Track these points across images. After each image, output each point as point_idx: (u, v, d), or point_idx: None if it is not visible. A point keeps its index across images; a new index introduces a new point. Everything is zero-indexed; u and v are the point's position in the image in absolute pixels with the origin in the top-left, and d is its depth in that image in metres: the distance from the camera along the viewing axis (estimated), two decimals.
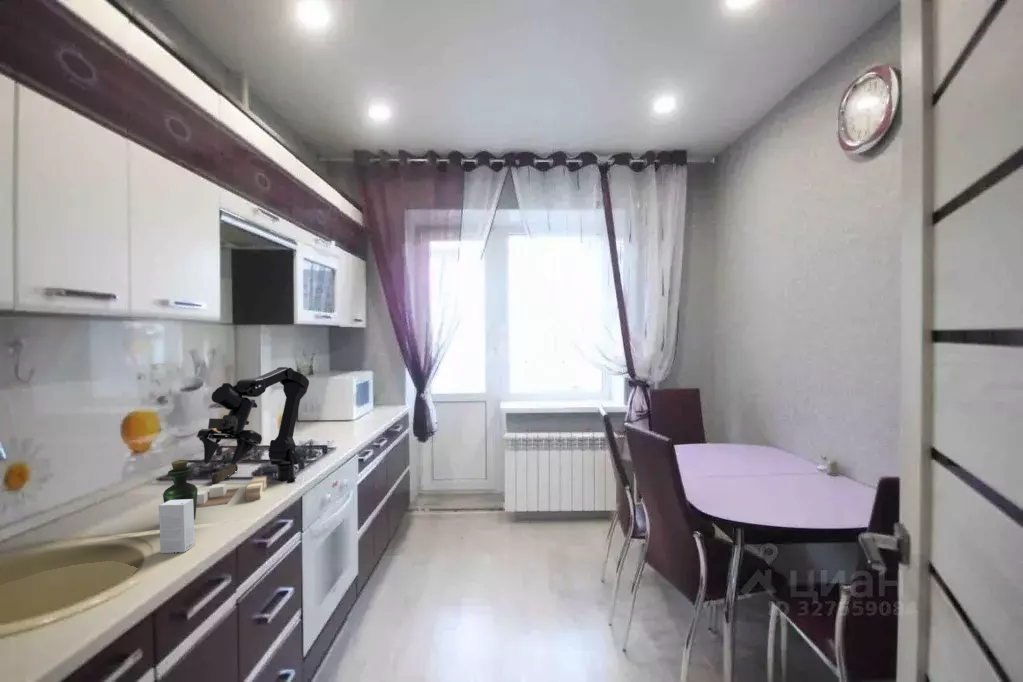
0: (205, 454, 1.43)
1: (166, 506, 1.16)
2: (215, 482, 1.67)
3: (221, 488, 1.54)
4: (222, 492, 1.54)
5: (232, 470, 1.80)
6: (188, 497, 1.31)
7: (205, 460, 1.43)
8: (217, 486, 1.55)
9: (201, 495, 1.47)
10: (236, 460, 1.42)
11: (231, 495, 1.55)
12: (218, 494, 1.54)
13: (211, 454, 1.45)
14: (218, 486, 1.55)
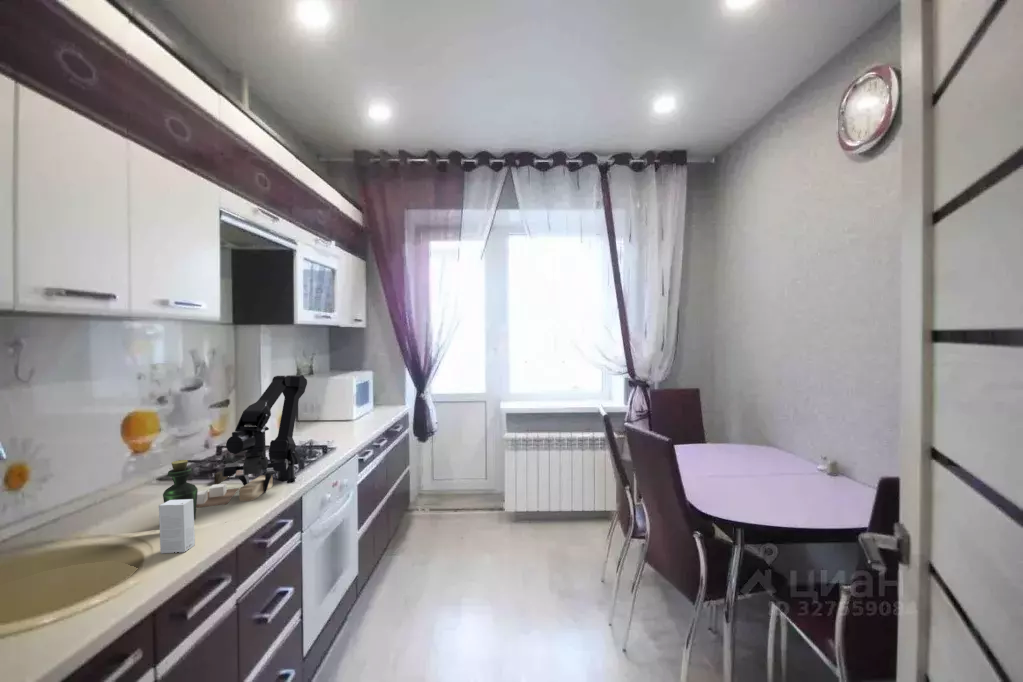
0: None
1: (166, 506, 1.16)
2: (217, 481, 1.67)
3: (221, 488, 1.54)
4: (222, 492, 1.54)
5: None
6: (188, 497, 1.31)
7: None
8: (217, 486, 1.55)
9: (201, 495, 1.47)
10: (267, 487, 1.58)
11: (231, 495, 1.55)
12: (218, 494, 1.54)
13: None
14: (218, 486, 1.55)
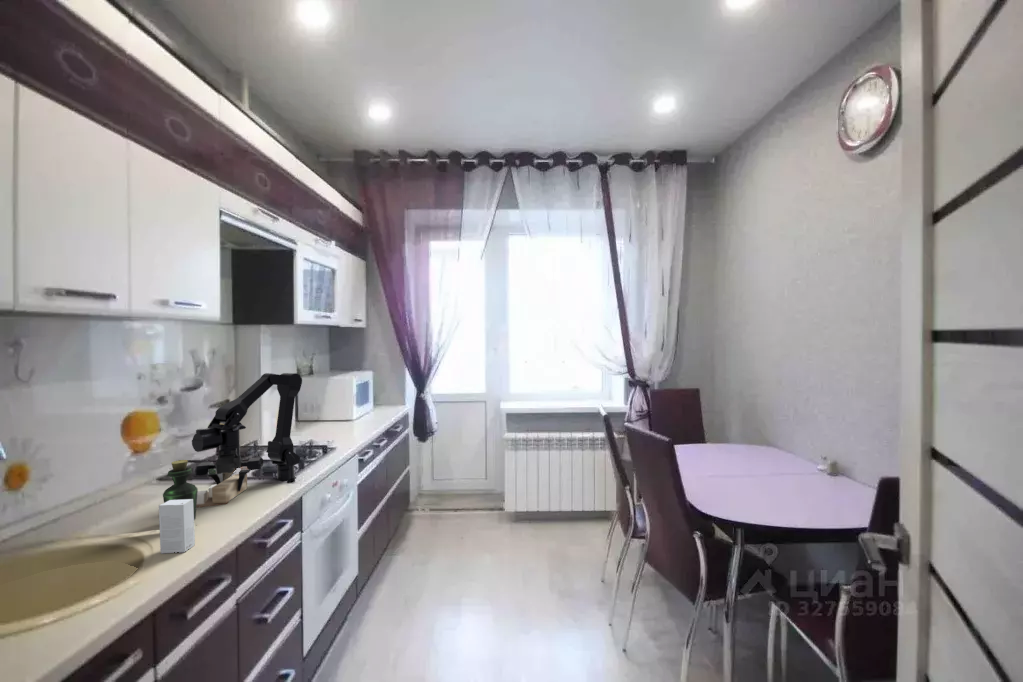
0: None
1: (166, 506, 1.16)
2: None
3: None
4: None
5: None
6: (188, 497, 1.31)
7: None
8: None
9: (201, 495, 1.47)
10: None
11: None
12: None
13: None
14: None
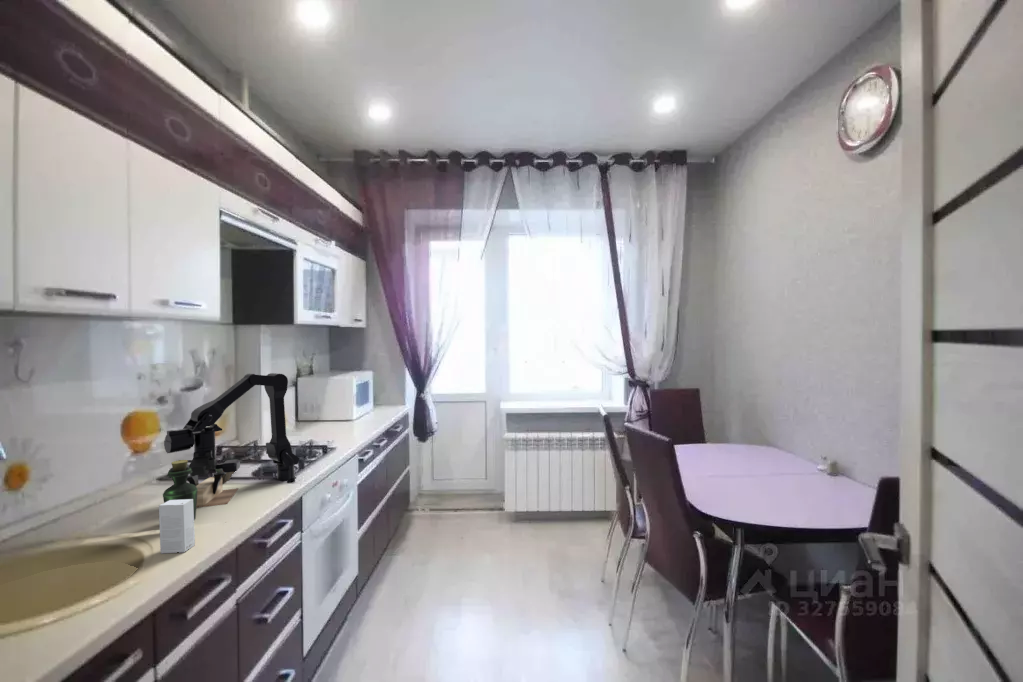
0: None
1: (166, 506, 1.16)
2: (224, 481, 1.68)
3: None
4: None
5: None
6: (188, 497, 1.31)
7: None
8: None
9: None
10: (216, 489, 1.53)
11: (231, 495, 1.55)
12: None
13: None
14: None
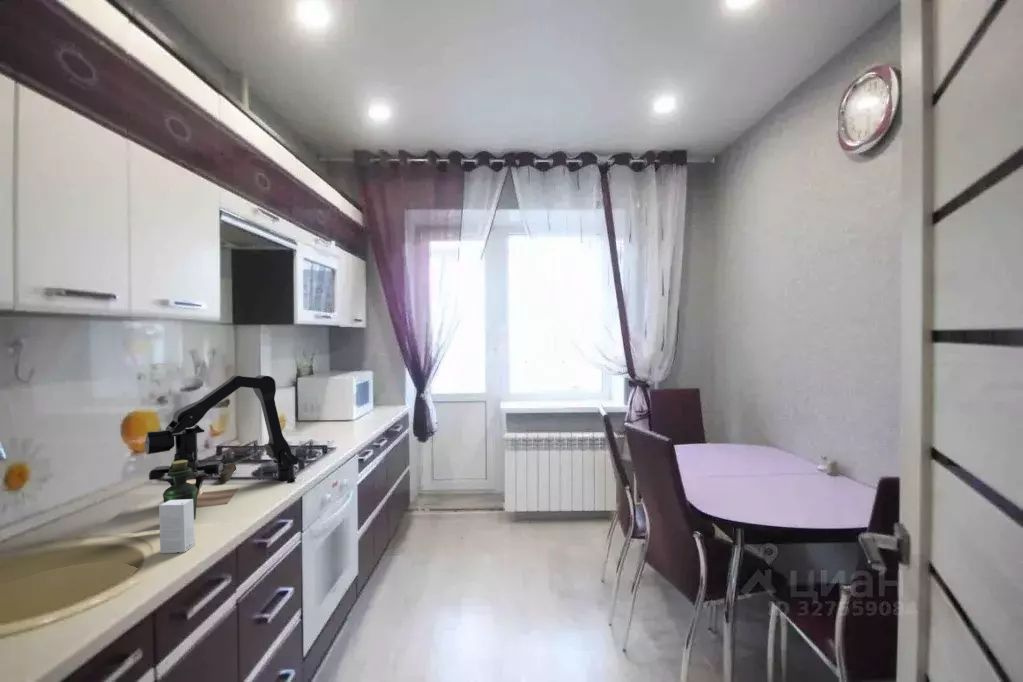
0: None
1: (166, 506, 1.16)
2: (224, 481, 1.68)
3: None
4: None
5: (233, 470, 1.81)
6: (188, 497, 1.31)
7: None
8: None
9: None
10: (198, 491, 1.51)
11: (231, 495, 1.55)
12: None
13: None
14: None
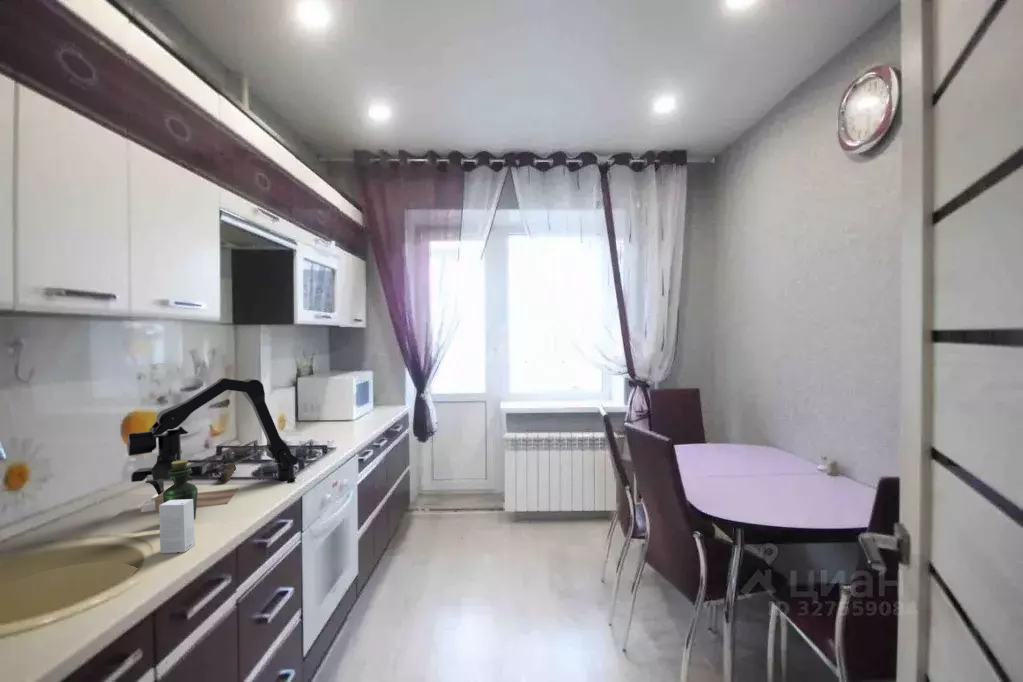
0: (159, 493, 1.47)
1: (166, 506, 1.16)
2: (225, 481, 1.68)
3: None
4: None
5: (233, 470, 1.81)
6: (188, 497, 1.31)
7: None
8: None
9: (154, 505, 1.42)
10: None
11: (231, 495, 1.55)
12: None
13: (163, 489, 1.49)
14: None
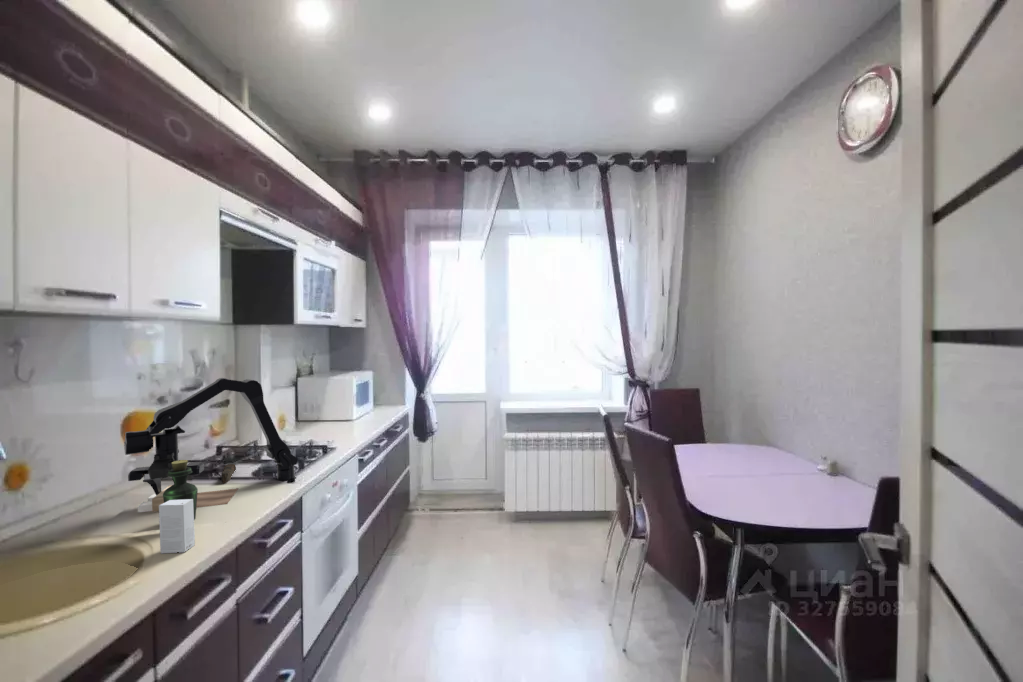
0: (156, 492, 1.47)
1: (166, 506, 1.16)
2: (226, 480, 1.68)
3: None
4: None
5: (233, 470, 1.81)
6: (188, 497, 1.31)
7: None
8: None
9: (151, 505, 1.42)
10: None
11: (231, 495, 1.55)
12: None
13: (160, 488, 1.48)
14: None
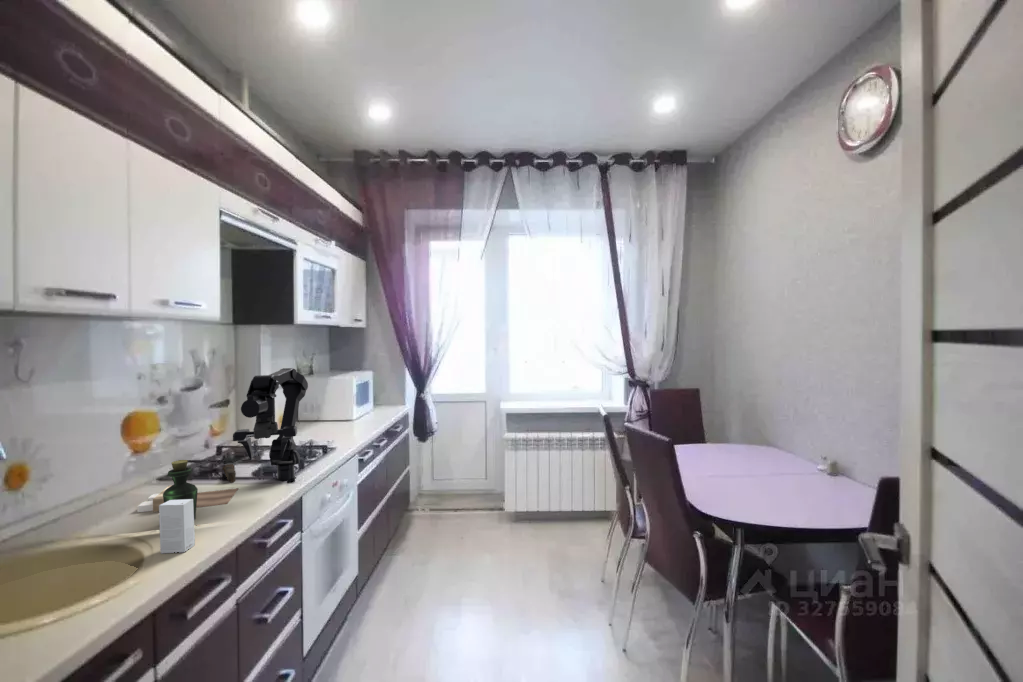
0: (249, 453, 1.56)
1: (166, 506, 1.16)
2: (234, 479, 1.69)
3: None
4: None
5: None
6: (188, 497, 1.31)
7: (251, 458, 1.56)
8: None
9: (150, 505, 1.42)
10: (283, 453, 1.60)
11: (231, 495, 1.55)
12: None
13: (251, 450, 1.57)
14: None
